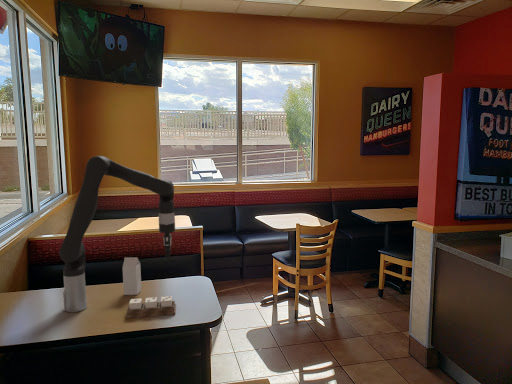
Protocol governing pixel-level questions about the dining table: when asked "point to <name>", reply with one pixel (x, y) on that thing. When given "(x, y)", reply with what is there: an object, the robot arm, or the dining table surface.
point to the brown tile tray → (151, 311)
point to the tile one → (135, 304)
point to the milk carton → (131, 276)
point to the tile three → (166, 301)
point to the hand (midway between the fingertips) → (168, 255)
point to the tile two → (151, 302)
